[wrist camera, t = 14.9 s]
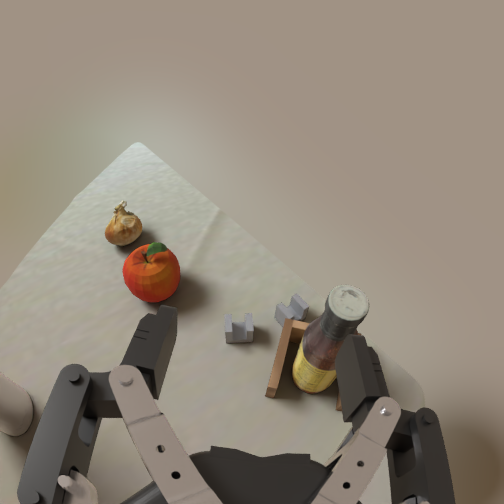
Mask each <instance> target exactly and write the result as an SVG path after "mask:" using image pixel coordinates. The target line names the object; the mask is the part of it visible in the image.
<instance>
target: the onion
mask: <svg viewBox="0 0 504 504" xmlns="http://www.w3.org/2000/svg"><path fill="white" fill-rule="evenodd" d="M126 205H127V202H126V201H125V202H124V200H123V201H122V202H121V203H120V204H119V205H118V206H116V207H115V210H116V211H114V216H113V218H112V220H111V221H110V222H109V224H108V225H107V227H106V230H105V237H106V239H107V240H108V241H109V242H110V243H112V244H115V245H120V246H125V245H128V244H130V243H132V242H134V240H136V239H137V238H138V237H139V236H140V234H141V232H142V223H141V221H140V219H139V218H138V217H137V216H136V215H134V214H133V213H131V212H129V211H128V212H126V211H125V210H124V207H125V206H126ZM120 246H119V247H120Z"/></svg>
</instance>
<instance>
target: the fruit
mask: <svg viewBox="0 0 504 504" xmlns="http://www.w3.org/2000/svg"><path fill="white" fill-rule="evenodd" d="M123 276H124V280H125V284H126V285H127V287H128V288H129V290H130V291H131V292H132V294H133V295H135V296H136V297H138V298H139V299H141V300H143V301H146V302H159V301H163V300H165V299H167V298H169V297H170V296H171V295H172V294H173V293H174V292H175V291H176V289H177V287H178V284H179V281H180V266H179V263H178V260H177V258H176V256H175V255H174V254H173V253H172V252H171V251H170V250H169V249H168V248H167V247H166V246H165V245H164V244H162V243H156V242H153V243H152V244H147V245H143V246H141V247H139V248H137V249H135V250H134V251H133V252H132V253H131V254H130V255H129V256H128V257H127V259H126V260H125V263H124V266H123Z"/></svg>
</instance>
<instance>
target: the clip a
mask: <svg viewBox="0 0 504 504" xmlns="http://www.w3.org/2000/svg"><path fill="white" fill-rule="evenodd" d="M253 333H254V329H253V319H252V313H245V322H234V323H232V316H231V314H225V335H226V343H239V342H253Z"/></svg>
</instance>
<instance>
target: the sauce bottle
mask: <svg viewBox="0 0 504 504" xmlns="http://www.w3.org/2000/svg"><path fill="white" fill-rule="evenodd" d="M368 310H369V300H368V298H367V296H366V295H365V293H364V292H363V291H362V290H360V289H359V288H357V287H354V286H350V285H341V286H337V287H335V288H334V289H333V290H332V291H331V292H330V294H329V296H328V298H327V300H326V303H325V311H324V313H323V314H322V315H321V316H320V317H318V318H317V319H315V320H313V321H312V322H311V323H310V324H309V325H308V326H307V328H306V330H305V332H304V335H303V338H302V341H301V343H300V346H299V349H298V352H297V355H296V358H295V361H294V364H293V367H292V377H293V381H294V383H295V385H296V386H297V387H298V388H299V389H301V390H302V391H305V392H306V393H318V392H321V391H323V390H325V389H326V388H327V387H329V386H330V385H331V384H332V382H333V381H334V380H335V379H336V377H337V375H336V369H335V359H336V355H337V353H338V351H339V349H340V348H341V346H342V344H343V342H344V340H345V338H346V337H347V335H349V334H352V335H358V331H357V326H358V325H359V324H360V323H361V322H362V321H363V320H364V318H365V316H366V315H367V313H368Z"/></svg>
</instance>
